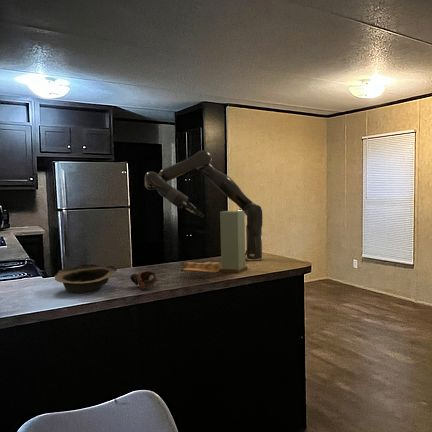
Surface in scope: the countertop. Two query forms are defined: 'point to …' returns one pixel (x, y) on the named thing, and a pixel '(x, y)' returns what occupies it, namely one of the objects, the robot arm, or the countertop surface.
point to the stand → (232, 241)
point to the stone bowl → (84, 277)
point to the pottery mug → (143, 279)
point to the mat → (200, 270)
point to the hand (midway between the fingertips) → (201, 215)
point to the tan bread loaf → (204, 265)
